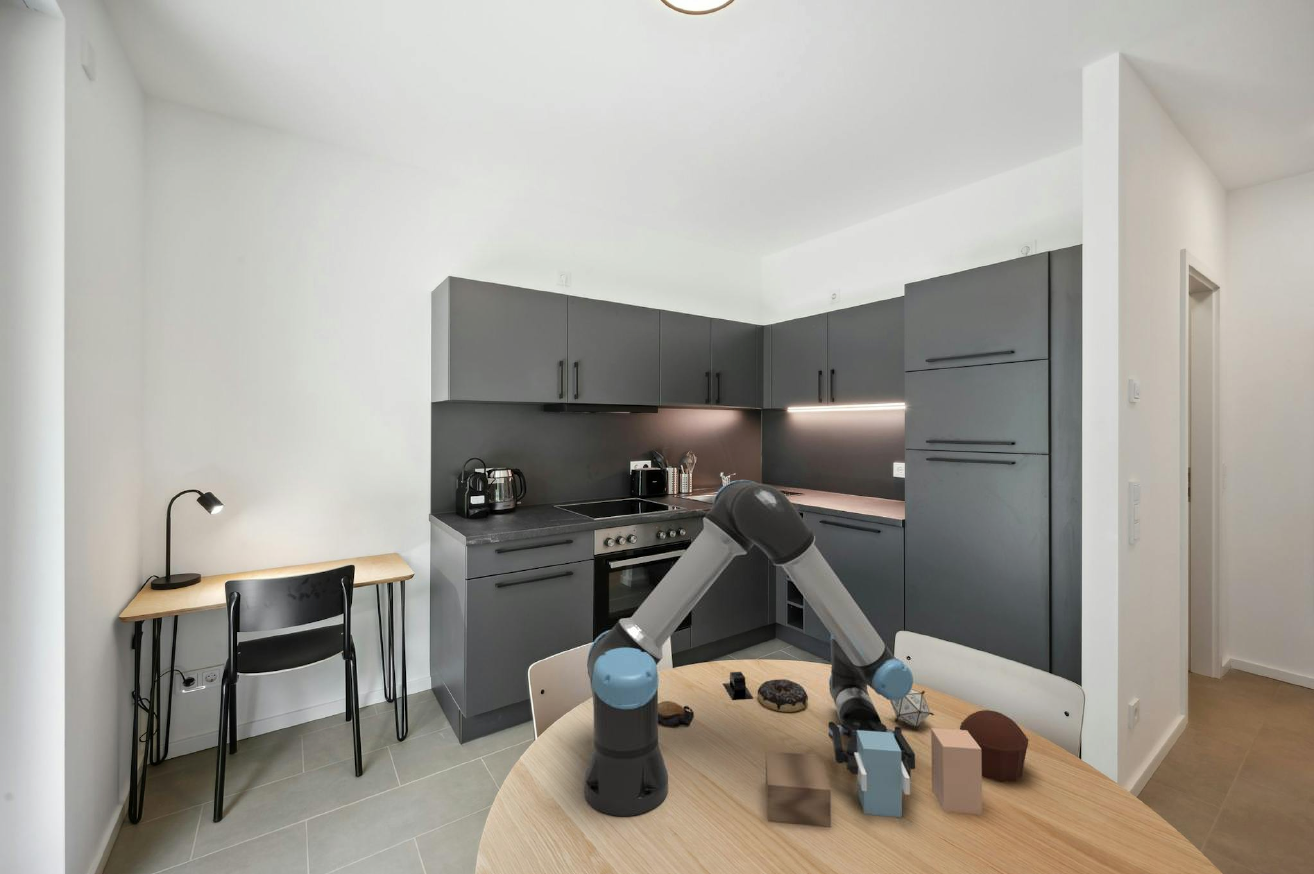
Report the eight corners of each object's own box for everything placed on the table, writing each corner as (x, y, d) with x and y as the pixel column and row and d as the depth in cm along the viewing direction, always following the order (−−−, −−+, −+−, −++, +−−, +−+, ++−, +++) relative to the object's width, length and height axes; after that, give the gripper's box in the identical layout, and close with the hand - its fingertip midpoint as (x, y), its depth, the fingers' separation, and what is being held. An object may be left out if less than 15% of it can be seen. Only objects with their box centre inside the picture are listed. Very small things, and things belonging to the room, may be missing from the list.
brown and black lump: (642, 727, 124) (641, 711, 124) (650, 709, 133) (650, 693, 133) (689, 732, 122) (689, 715, 122) (695, 713, 130) (695, 697, 130)
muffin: (964, 745, 115) (964, 696, 115) (1029, 762, 109) (1029, 711, 109) (956, 773, 105) (956, 720, 105) (1027, 795, 99) (1026, 738, 99)
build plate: (759, 704, 135) (759, 685, 135) (729, 706, 134) (729, 687, 134) (744, 681, 147) (743, 663, 147) (716, 683, 146) (716, 665, 146)
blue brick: (864, 814, 94) (863, 748, 94) (857, 791, 100) (856, 730, 100) (901, 817, 93) (901, 751, 93) (892, 794, 99) (892, 732, 99)
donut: (776, 688, 142) (776, 672, 142) (817, 704, 134) (817, 687, 134) (749, 702, 135) (748, 685, 135) (790, 720, 126) (790, 702, 126)
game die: (919, 741, 123) (950, 710, 121) (898, 738, 119) (929, 706, 116) (892, 705, 131) (920, 675, 128) (871, 702, 126) (900, 671, 124)
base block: (768, 820, 93) (767, 784, 93) (766, 783, 103) (765, 751, 103) (830, 826, 91) (830, 789, 91) (822, 788, 101) (822, 755, 101)
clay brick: (943, 811, 95) (943, 746, 95) (931, 789, 101) (931, 728, 101) (981, 814, 94) (981, 749, 94) (967, 792, 100) (967, 730, 100)
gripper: (809, 693, 116) (825, 756, 93) (906, 699, 113) (947, 766, 90) (810, 730, 116) (825, 802, 93) (907, 736, 113) (948, 813, 90)
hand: (885, 784), depth 92 cm, fingers closed on blue brick, 6 cm apart
